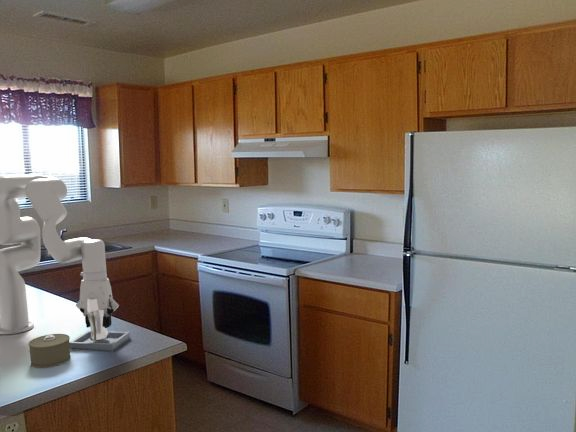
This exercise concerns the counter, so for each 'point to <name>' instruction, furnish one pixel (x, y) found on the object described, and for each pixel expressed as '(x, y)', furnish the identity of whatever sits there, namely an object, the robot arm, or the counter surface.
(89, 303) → the beer glass
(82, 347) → the tray
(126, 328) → the counter surface
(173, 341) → the counter surface
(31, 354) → the can
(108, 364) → the counter surface
